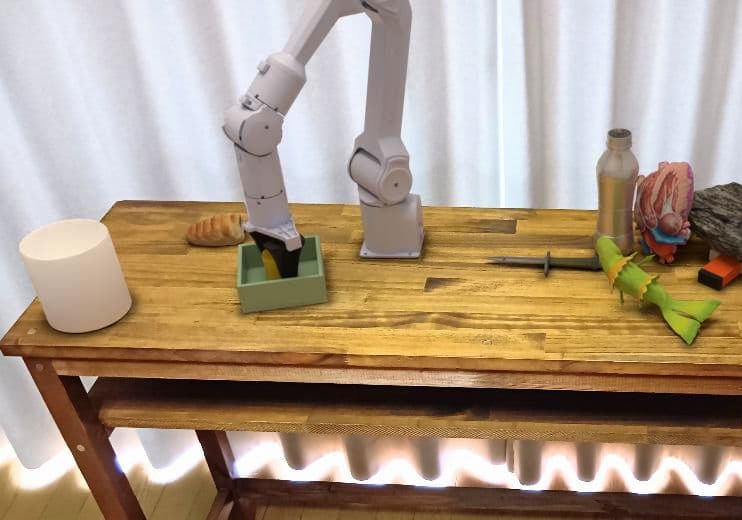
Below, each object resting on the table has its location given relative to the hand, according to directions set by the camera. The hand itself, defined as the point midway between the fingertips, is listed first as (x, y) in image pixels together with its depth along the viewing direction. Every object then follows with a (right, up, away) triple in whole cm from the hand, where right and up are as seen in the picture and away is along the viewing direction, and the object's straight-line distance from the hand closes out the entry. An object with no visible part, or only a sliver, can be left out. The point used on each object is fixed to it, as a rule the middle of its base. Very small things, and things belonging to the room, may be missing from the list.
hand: (282, 272), depth 135 cm
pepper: (0, -1, +1) cm, 2 cm away
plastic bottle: (+50, +4, +7) cm, 51 cm away
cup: (-28, -6, -3) cm, 28 cm away
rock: (+65, +14, +4) cm, 66 cm away
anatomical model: (+58, +17, +1) cm, 60 cm away
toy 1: (+55, -5, -15) cm, 57 cm away
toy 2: (+63, -2, -2) cm, 63 cm away
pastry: (-13, +7, +13) cm, 20 cm away
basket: (0, -2, +1) cm, 2 cm away
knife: (+40, +4, +5) cm, 40 cm away
